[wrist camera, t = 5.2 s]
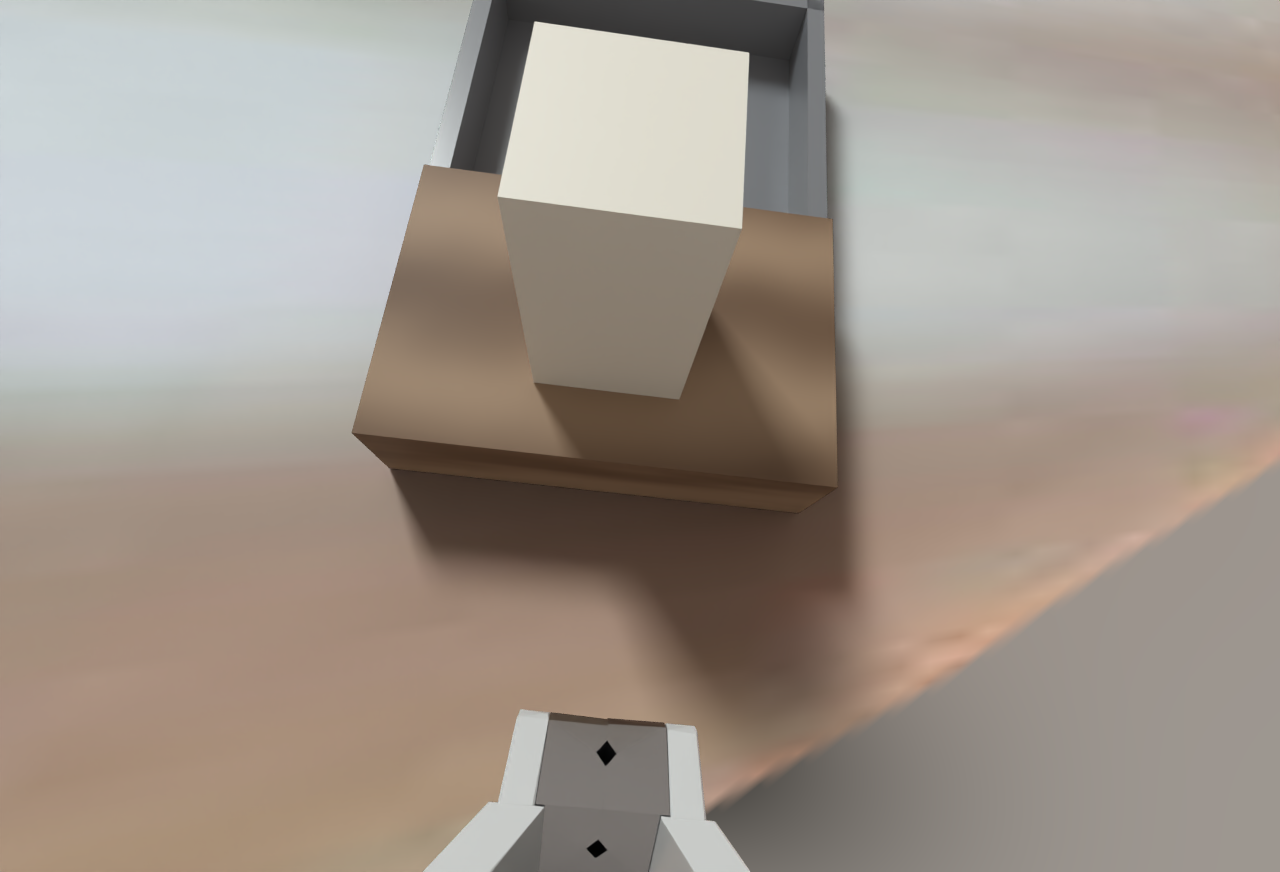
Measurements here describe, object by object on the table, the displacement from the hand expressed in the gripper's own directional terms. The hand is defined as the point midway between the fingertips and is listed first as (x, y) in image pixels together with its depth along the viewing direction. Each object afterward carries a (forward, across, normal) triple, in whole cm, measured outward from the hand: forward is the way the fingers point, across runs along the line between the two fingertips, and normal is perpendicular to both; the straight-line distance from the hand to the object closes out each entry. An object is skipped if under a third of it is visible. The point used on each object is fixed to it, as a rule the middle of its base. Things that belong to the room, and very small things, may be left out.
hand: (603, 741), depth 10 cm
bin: (+26, -1, +10) cm, 28 cm away
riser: (+17, -1, +1) cm, 17 cm away
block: (+14, -1, +4) cm, 14 cm away
